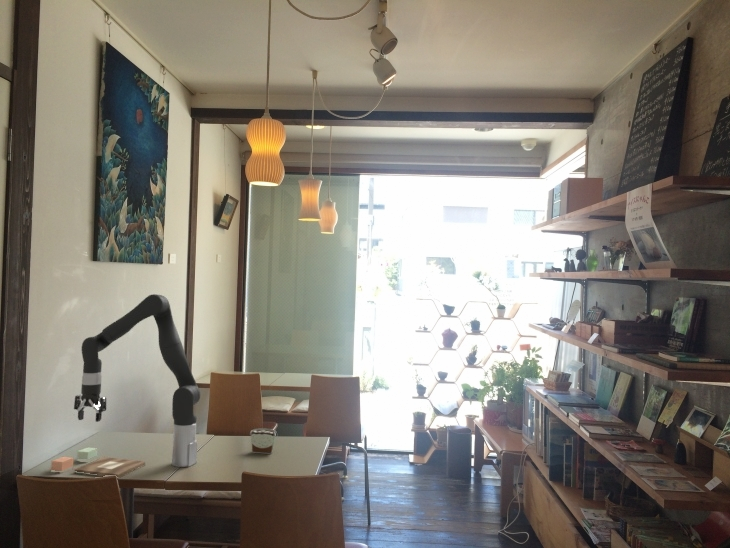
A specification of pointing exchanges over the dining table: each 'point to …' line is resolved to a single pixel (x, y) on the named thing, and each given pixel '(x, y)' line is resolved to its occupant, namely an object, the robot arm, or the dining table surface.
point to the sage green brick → (87, 453)
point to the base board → (110, 466)
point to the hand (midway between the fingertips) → (89, 420)
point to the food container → (262, 440)
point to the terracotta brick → (62, 463)
